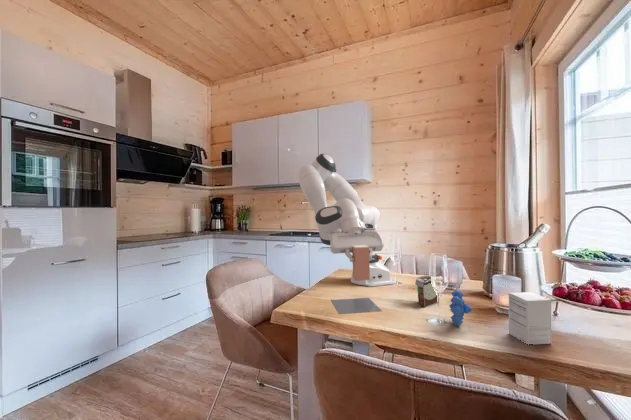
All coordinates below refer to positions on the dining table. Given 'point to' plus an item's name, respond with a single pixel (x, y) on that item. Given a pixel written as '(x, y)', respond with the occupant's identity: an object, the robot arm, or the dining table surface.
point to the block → (361, 262)
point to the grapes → (458, 307)
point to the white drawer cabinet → (530, 318)
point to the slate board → (355, 305)
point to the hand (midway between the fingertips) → (361, 260)
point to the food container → (425, 291)
